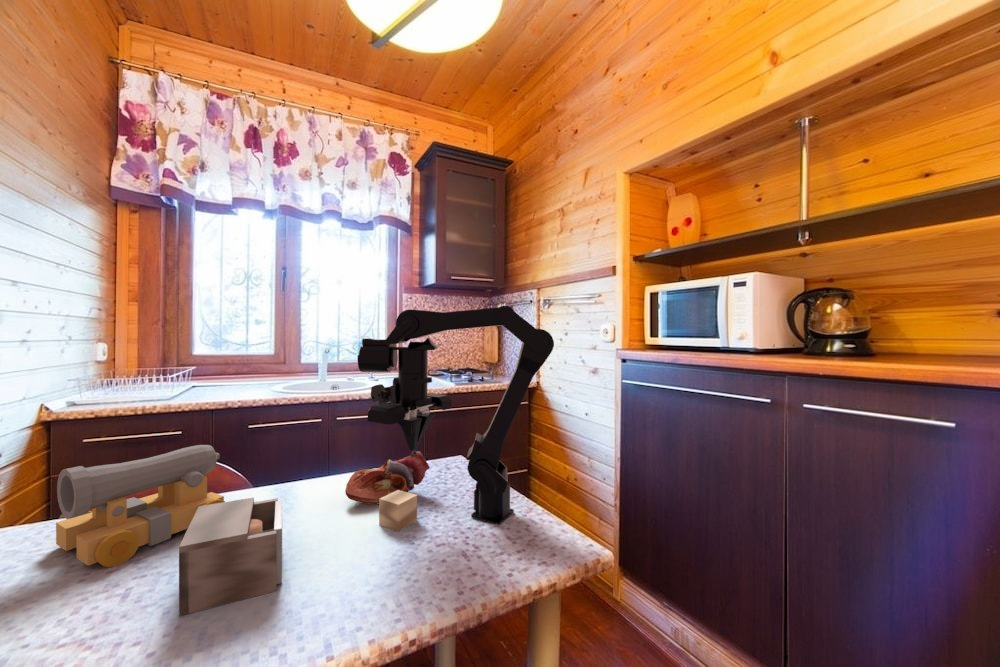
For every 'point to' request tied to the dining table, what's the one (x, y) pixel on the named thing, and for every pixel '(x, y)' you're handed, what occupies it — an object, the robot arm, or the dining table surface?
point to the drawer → (278, 540)
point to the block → (398, 510)
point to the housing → (227, 555)
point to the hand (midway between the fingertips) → (412, 450)
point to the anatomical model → (387, 479)
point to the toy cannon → (132, 503)
